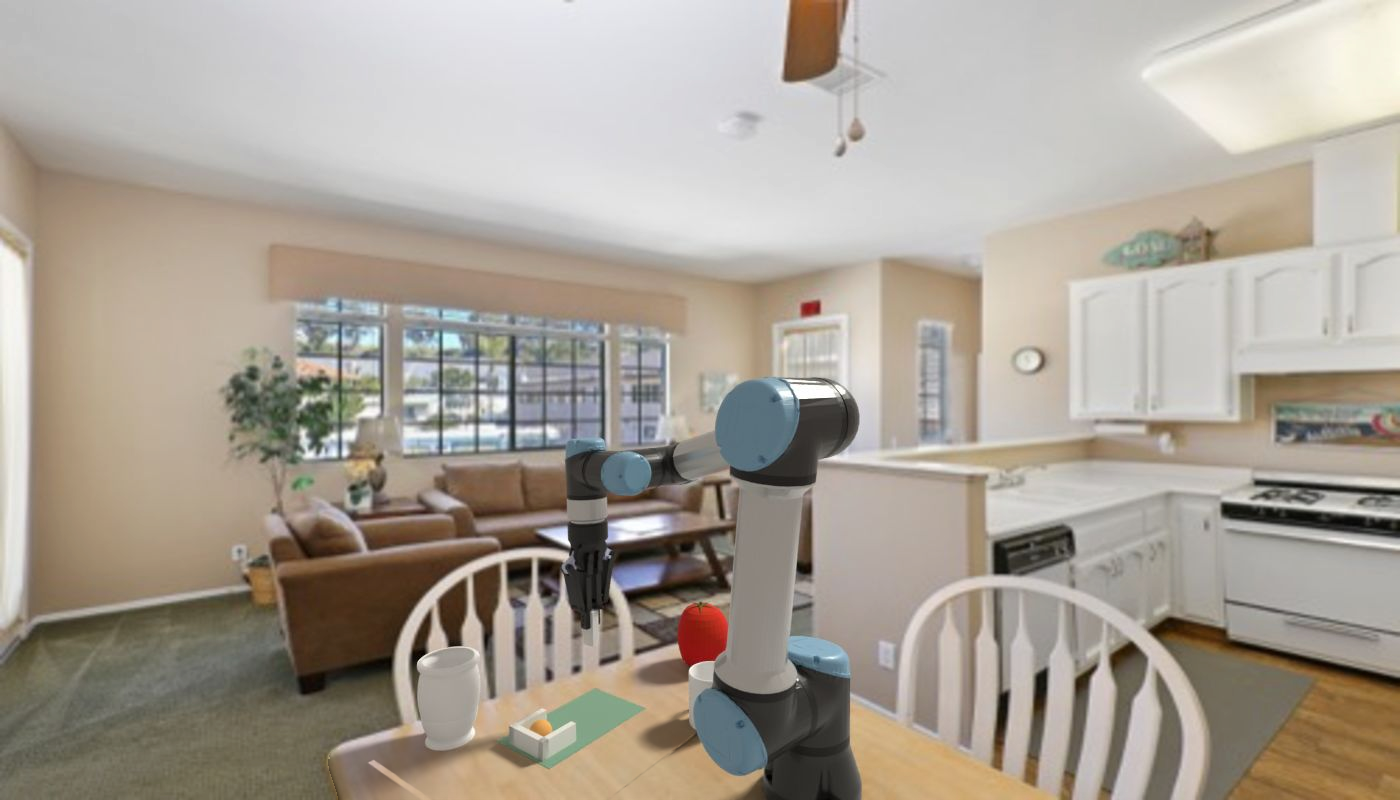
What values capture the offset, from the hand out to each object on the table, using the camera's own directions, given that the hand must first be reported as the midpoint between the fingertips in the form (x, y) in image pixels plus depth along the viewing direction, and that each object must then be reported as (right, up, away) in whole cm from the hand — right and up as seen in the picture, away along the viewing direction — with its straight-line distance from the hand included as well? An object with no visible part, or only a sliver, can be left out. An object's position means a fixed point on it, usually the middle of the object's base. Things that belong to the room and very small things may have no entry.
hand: (591, 643), depth 121 cm
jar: (-24, -15, -6) cm, 29 cm away
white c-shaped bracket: (-7, -14, -8) cm, 18 cm away
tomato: (+21, -14, +23) cm, 35 cm away
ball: (-7, -12, -9) cm, 17 cm away
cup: (+23, -15, 0) cm, 27 cm away
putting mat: (-3, -15, -2) cm, 15 cm away
